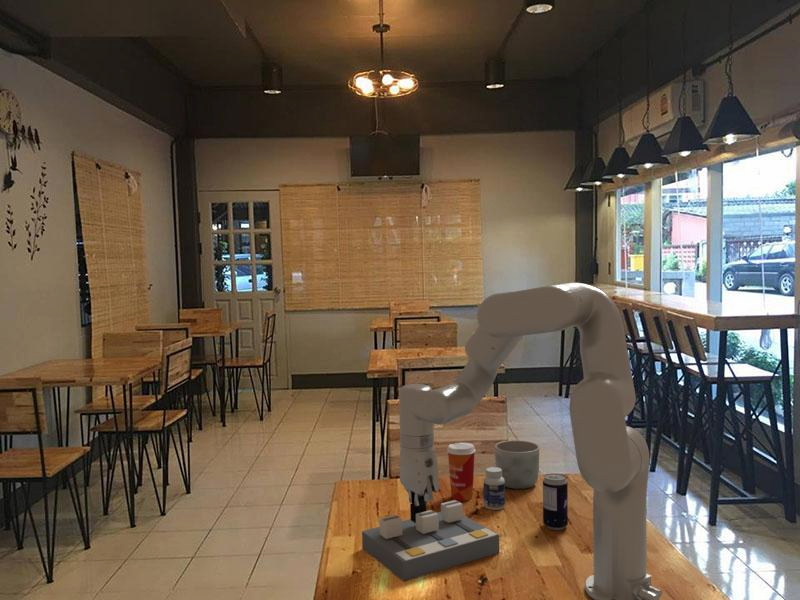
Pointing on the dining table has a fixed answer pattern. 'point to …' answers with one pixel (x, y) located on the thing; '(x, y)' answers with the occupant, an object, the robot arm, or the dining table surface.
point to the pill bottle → (494, 489)
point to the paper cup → (461, 470)
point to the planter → (518, 463)
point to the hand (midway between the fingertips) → (418, 520)
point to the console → (430, 547)
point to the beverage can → (555, 501)
